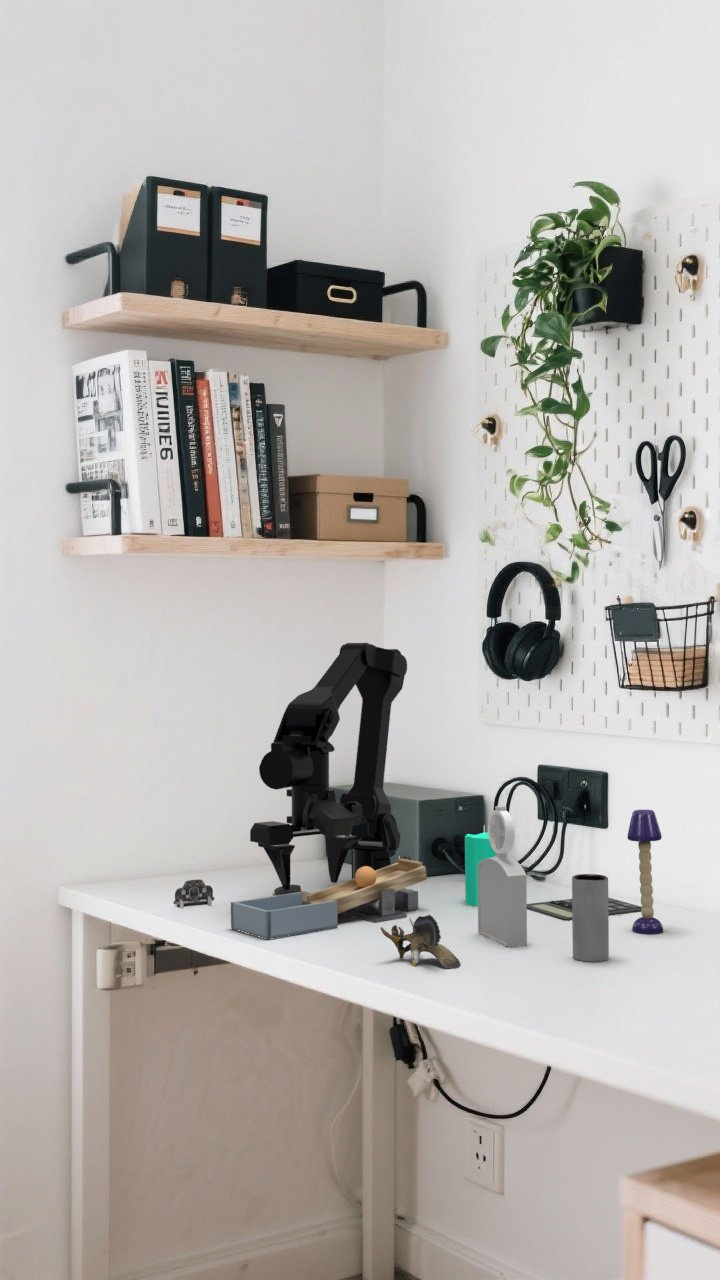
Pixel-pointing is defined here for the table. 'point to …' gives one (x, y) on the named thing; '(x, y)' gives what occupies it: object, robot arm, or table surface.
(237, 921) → the tray
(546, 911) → the calculator
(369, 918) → the stand
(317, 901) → the lever
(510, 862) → the gravestone
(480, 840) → the candle
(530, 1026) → the table surface
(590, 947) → the planter
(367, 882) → the ball
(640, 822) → the toy lamp
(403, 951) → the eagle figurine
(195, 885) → the car cutout
